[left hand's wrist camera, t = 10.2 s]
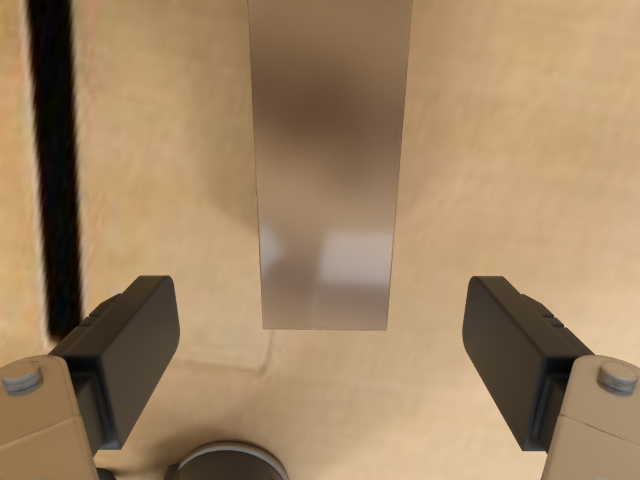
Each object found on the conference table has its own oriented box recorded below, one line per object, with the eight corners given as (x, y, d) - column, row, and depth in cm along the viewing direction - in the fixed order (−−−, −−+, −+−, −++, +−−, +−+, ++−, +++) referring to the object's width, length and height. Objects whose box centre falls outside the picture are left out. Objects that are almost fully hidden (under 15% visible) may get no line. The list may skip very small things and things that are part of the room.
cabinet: (272, -113, 20) (235, -263, 11) (385, -112, 20) (433, -261, 11) (281, 252, 26) (262, 329, 18) (366, 253, 26) (386, 331, 18)
